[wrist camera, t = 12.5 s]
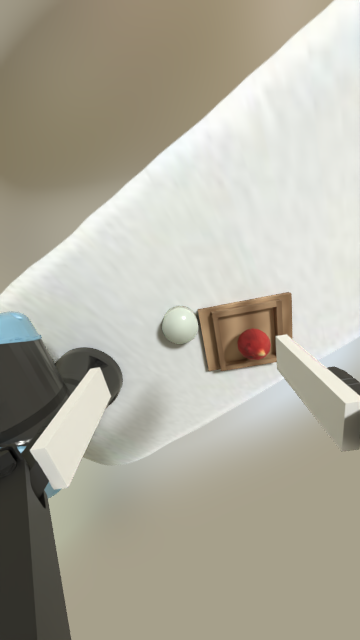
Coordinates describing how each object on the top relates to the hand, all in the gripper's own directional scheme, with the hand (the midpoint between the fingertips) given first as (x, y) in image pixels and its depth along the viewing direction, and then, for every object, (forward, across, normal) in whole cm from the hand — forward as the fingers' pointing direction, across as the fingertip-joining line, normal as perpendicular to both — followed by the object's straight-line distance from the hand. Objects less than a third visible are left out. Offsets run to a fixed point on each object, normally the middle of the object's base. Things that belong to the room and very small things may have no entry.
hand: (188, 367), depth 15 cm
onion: (+26, +11, -11) cm, 30 cm away
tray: (+27, +11, -11) cm, 31 cm away
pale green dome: (+27, -2, -6) cm, 27 cm away
